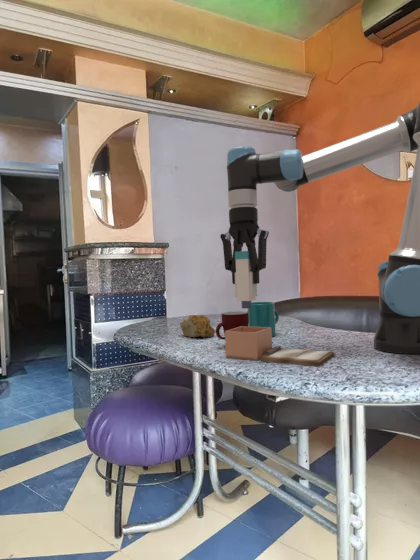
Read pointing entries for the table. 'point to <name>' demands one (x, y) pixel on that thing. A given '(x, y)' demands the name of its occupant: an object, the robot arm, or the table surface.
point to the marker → (243, 278)
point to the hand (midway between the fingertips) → (246, 296)
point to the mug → (232, 321)
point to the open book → (296, 356)
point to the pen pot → (248, 342)
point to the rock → (197, 326)
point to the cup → (263, 315)
